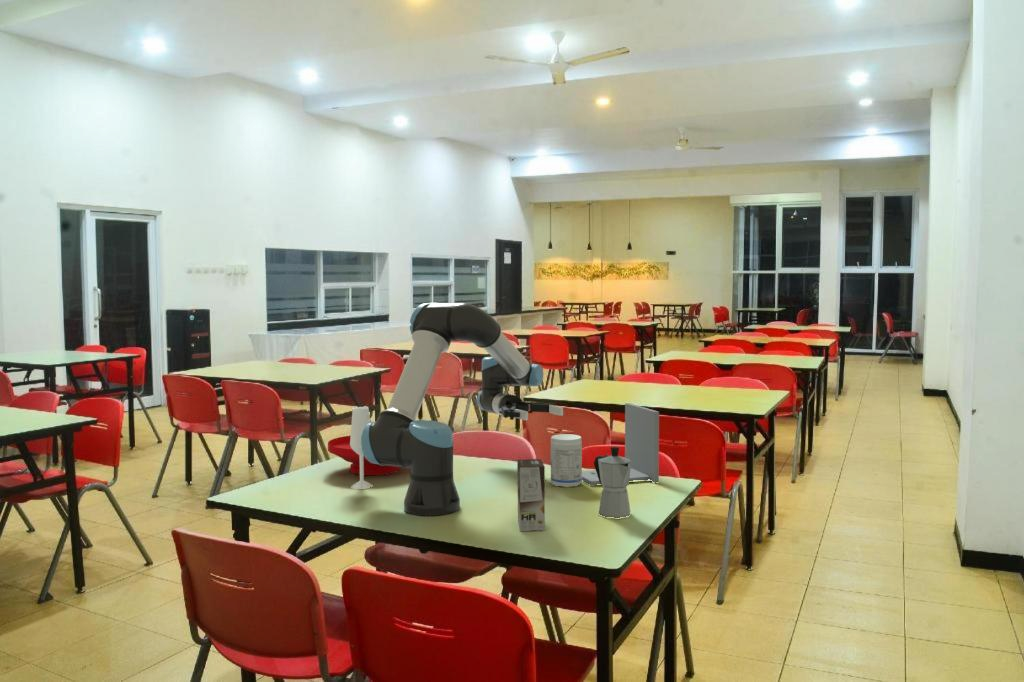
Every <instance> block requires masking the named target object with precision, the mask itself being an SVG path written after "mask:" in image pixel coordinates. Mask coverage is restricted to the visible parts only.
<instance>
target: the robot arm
mask: <svg viewBox="0 0 1024 682" xmlns="http://www.w3.org/2000/svg"><path fill="white" fill-rule="evenodd" d="M409 323H410V325H409V332H410V334H411V338H412V341H413V343H414V344H413V346H412V348H411V351H410V352H409V355H408V357H407V360H406V363H405V365H404V368H403V369H402V372H401V374H400V376H399V380H398V382H397V384H396V387H395V389H394V392H393V394H392V397H391V399H390V401H389V404H388V407H387V409H384V410H382V411H380V412H379V414H378V417H377V419H376V421H370V423H369V424H367V425H366V426H365V427H364V429H363V432H362V436H361V446H362V451H363V454H364V456H365V458H366V459H367V460H368V461H369V462H371V463H373V464H379V465H381V466H396V467H399V468H405V469H406V468H407V469H409V474H410V475H409V484H408V487H407V490H406V494H405V497H404V501H403V509H404V512H407V513H408V514H411V515H416V516H417V515H418V516H441V515H447V514H451V513H455V512H456V511H458V510H460V508H461V499H460V495H459V492H458V490H457V487H456V484H455V480H454V444H455V443H454V442H455V441H454V437H453V436H454V434H453V430H452V428H451V426H449V425H448V424H446V423H444V422H441V421H437V420H436V421H435V420H425V419H420V420H416V419H417V417H418V413H419V412H420V409H421V406H422V404H423V401H424V398H425V396H426V393H427V391H428V388H429V385H430V383H431V381H432V378H433V376H434V373H435V370H436V368H437V365H438V362H439V359H440V357H441V355H442V354H444V353H446V352H447V351H448V350H449V348H450V346H451V344H452V342H467V343H468V342H469V343H472V344H474V345H475V346H476V347H477V348H481V349H484V350H485V351H486V352H487V354H489V355H490V356H484V357H483V358H482V359H481V369H480V371H481V391H480V392H478V395H477V397H476V404H477V406H478V408H479V409H480V410H481V411H485V412H486V413H491V414H495V415H499V416H500V415H501V416H502V418H505V419H507V418H509V420H510V421H511V420H512V421H513V420H514V419H519V420H522V421H529V414H532V413H535V412H536V413H549V414H551V415H555V416H561V417H563V416H564V407H563V406H558V405H557V404H556V403H554V402H550V403H548V402H537V401H530V402H528V401H524V400H523V399H521V398H520V396H518V395H515V394H509V393H505V392H504V389H505V388H504V386H516V387H517V386H520V387H529V388H531V387H539V386H541V384H542V383H543V379H544V368H543V367H542V365H541V364H536V363H530V362H529V361H528V360H527V359H526V357H524V355H523V354H522V353H521V352H520V351H519V349H517V347H516V346H515V345H514V344H513V343H512V342H511V341H510V339H509V338H507V336H506V335H505V334H504V333H503V332H502V328H501V325H500V323H498V320H496V319H495V318H493V316H492V315H490V314H489V313H488V312H486V311H485V310H483V309H481V308H480V307H478V306H476V305H473V304H472V303H471V304H470V303H467V302H434V301H433V302H432V301H431V302H428V303H427V302H426V303H425V302H424V303H421V304H419V305H418V306H416V308H415V309H414V310H413V312H412V313H411V316H410V319H409Z"/></svg>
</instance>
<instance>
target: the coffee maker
mask: <svg viewBox="0 0 1024 682" xmlns="http://www.w3.org/2000/svg"><path fill="white" fill-rule="evenodd" d="M619 451H620V447H619V446H610V452H611V454H605V455H597V456H595V459H594V461H593V466H594V470H596V472H597V475H598V478H599V481H600V484H602V485H601V486H602V490H601V496H600V504H599V508H598V514H600V515H602V516H605V517H614V518H620V517H626V516H629V515H630V512H631V508H630V500H629V493H628V489H627V487H628V486H629V484H630V483H629V477H630V469H631V462H632V461H631V460H629V459H628V458H625V456H620V455H619ZM630 516H631V515H630Z"/></svg>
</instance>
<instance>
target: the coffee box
mask: <svg viewBox="0 0 1024 682" xmlns="http://www.w3.org/2000/svg"><path fill="white" fill-rule="evenodd" d="M516 462H517V463H516V465H517V468H516V469H517V470H516V471H517V472H516V473H517V477H516V478H517V524H518V528H519V531H520V532H532V531H531V530H544V531H545V530H546V528H545V526H546V520H545V519H546V516H545V515H546V514H545V513H546V511H545V505H546V502H545V501H546V499H545V498H546V497H545V496H546V495H545V494H546V491H545V489H546V488H545V486H546V485H545V483H546V482H545V481H546V479H545V478H546V477H545V476H546V475H545V473H546V471H545V469H546V467H545V464H544V462H543V461H542V459H541V458H533V459H532V458H527V459H517V460H516Z"/></svg>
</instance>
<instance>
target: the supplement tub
mask: <svg viewBox="0 0 1024 682" xmlns="http://www.w3.org/2000/svg"><path fill="white" fill-rule="evenodd" d="M582 461H583V441H582V436H580V435H578V434H571V433H560V434H559V433H558V434H554V435H552V436H551V437H550V483H551V484H552V485H553V486H555V485H557V486H556V487H558V486H575V487H578V485H579V486H580V485H581V484H582V471H583V470H582V468H583V467H582V466H583V465H582V464H583V462H582Z"/></svg>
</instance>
